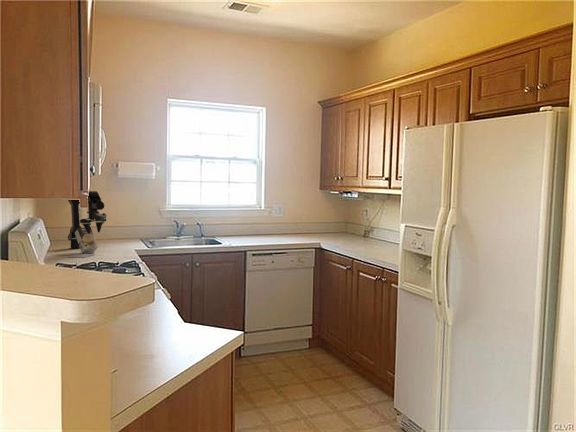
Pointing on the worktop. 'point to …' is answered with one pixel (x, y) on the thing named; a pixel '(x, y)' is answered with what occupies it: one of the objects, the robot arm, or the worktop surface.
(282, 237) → the worktop surface
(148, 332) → the worktop surface
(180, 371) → the worktop surface
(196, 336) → the worktop surface
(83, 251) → the coffee box
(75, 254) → the mat
